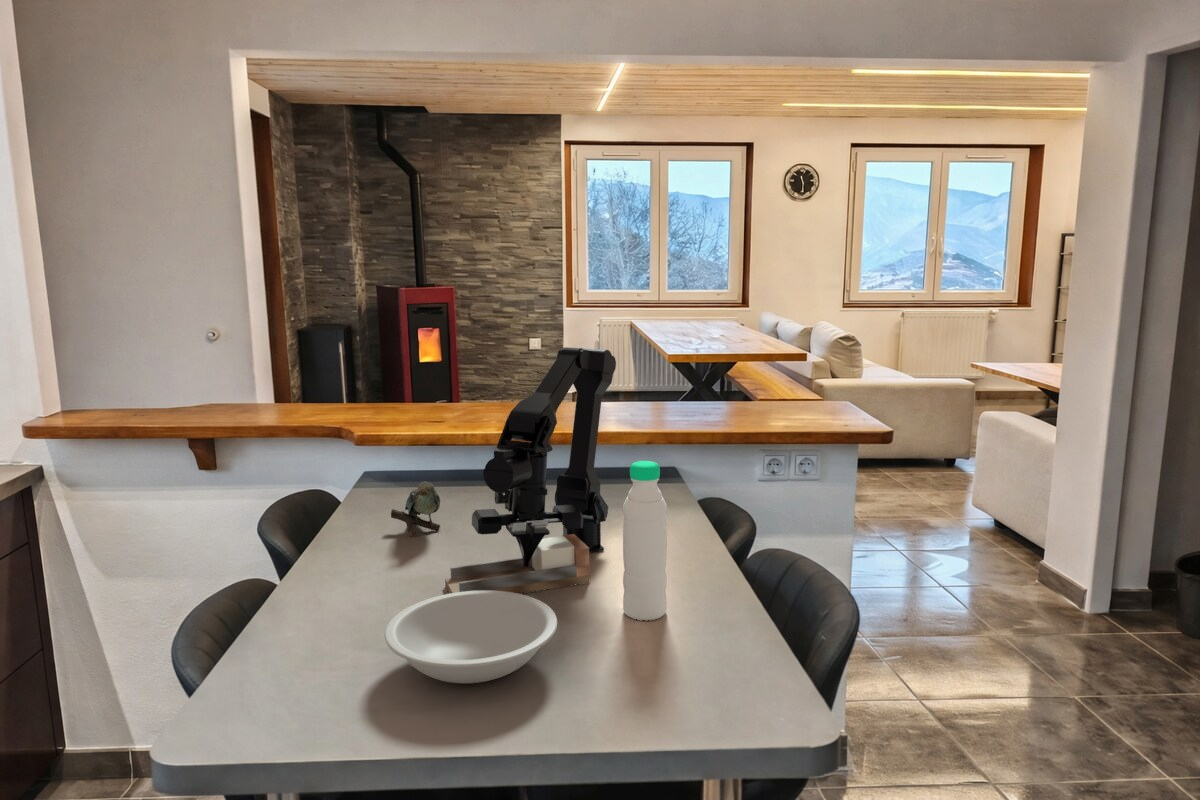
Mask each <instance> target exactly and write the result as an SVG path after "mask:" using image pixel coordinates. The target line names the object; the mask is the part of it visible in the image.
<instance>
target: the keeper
mask: <svg viewBox="0 0 1200 800" xmlns="http://www.w3.org/2000/svg"><path fill="white" fill-rule="evenodd" d="M571 565H575V559H574V546H573V545H572V544H571V543H570V542H569V541H568V540H567V539H566V538H565V537H564V536H562V535H559V536H552V537H545V538H544V537H543V539H542V540H541V542H540V543H539V545H538V546H537V548H536V550H535V552H534V554H533V556H532V567H533V568H534V569H535V570H536V571H537V570H544V569H551V568H557V567H564V566H571Z"/></svg>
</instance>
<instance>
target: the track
mask: <svg viewBox="0 0 1200 800" xmlns="http://www.w3.org/2000/svg"><path fill="white" fill-rule="evenodd" d="M561 536H564V537H565V538H566V539H567V540H568V541H569V542H570V543H571V544H572V545H573V546H574V559H575V565H571V566H564V567H557V568H551V569H544V570H537V571H536V570H535V569H534V568H533V567H532V558H531V560H530V562H529V565H528V567H524V565H523V558H522V556H520V557H514V558H507V559H501V560H500V559H499V560H494V561H486V562H479V563H472V564H464V565H458V566H457V565H456V566H450V569H449V570H450V577H449V578H448V577H447V578H445V579H444V584H445V585H444V586H445V589H446V591H447V594H450V593H456V592H464V591H479V590H491V591H505V592H512V593H518V594H522V593H524V594H528V593H527V592H530V593H535V592H534V591H536V592H541V591H540V590H543V591H547V590H546V589H549V590H554V588H555V589H560V587H562V588H567V587H566V586H568V587H572V586H571V585H574V586H576V585H575V584H580V585H584V584H583V583H587V584H590V583H591V582H590V552H589V547H588V546H586V545H585V544H584V543H583V542H582V541H581V540H580V539H579V538H578V537H577V536H576V535H575V534H570V535H563V534H562V535H561ZM522 595H523V594H522Z"/></svg>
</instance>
